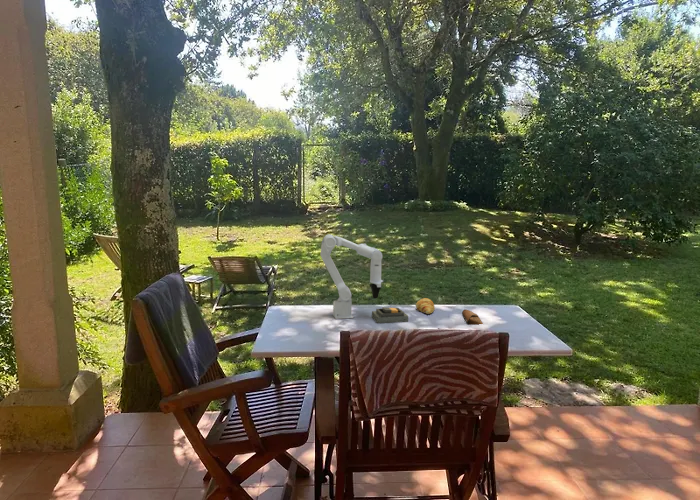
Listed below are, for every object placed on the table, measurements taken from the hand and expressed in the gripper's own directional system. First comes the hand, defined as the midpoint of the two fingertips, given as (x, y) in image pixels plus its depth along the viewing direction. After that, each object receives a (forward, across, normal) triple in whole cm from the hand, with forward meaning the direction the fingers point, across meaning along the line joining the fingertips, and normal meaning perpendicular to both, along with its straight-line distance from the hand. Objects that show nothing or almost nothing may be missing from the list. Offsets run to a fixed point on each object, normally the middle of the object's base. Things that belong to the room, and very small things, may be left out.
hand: (375, 297), depth 277 cm
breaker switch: (+6, -7, -6) cm, 11 cm away
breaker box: (+10, -7, -6) cm, 14 cm away
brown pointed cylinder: (+11, -16, -48) cm, 52 cm away
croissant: (+10, +7, -30) cm, 33 cm away
